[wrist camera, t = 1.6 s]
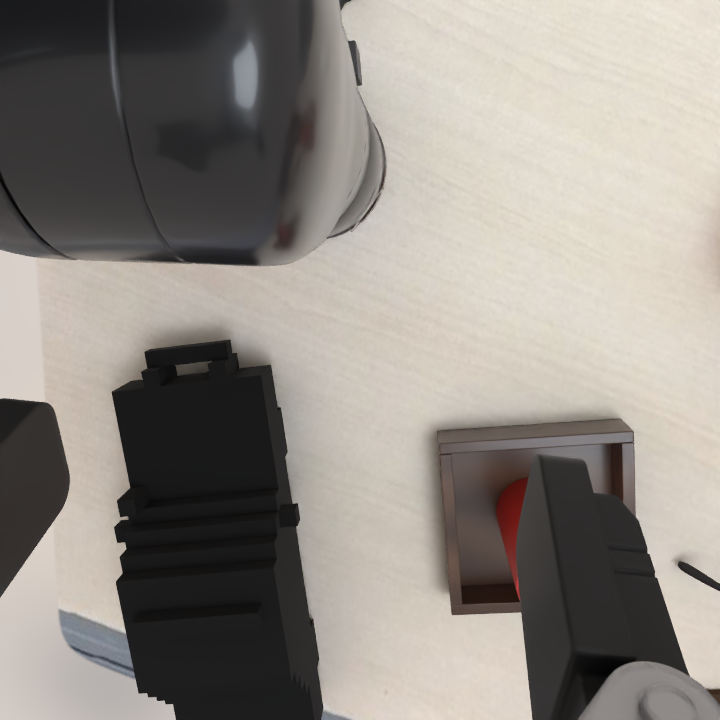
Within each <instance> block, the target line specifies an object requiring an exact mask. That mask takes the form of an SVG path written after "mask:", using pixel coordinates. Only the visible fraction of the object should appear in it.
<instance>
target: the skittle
mask: <svg viewBox="0 0 720 720" xmlns="http://www.w3.org/2000/svg"><path fill="white" fill-rule="evenodd" d="M527 482H528V478H524V479H520V480H518V481H516V482H514V483H512V484H511V485H509V486H508V487H507V488H506V489H505V490H504V491H503V493H502V494H501V496H500V498H499V500H498V503H497V508H496V516H497V521H498V525H499V528H500V532H501V536H502V540H503V543H504V547H505V551H506V554H507V558H508V562H509V565H510V569H511V573H512V577H513V580H514V584H515V588H516V591H517V595H518V598H519V600H520V593H519V583H518V574H517V564H516V541H517V531H518V524H519V519H520V515H521V510H522V506H523V501H524V496H525V492H526V487H527Z"/></svg>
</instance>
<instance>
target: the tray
mask: <svg viewBox="0 0 720 720" xmlns="http://www.w3.org/2000/svg"><path fill="white" fill-rule="evenodd" d="M437 432H438V445H439V458H440V472H441V485H442V498H443V511H444V524H445V537H446V551H447V564H448V577H449V590H450V602H451V613H452V615H464V614H489V613H514V612H521V603H520V600H519V598H518V595H517V591H516V588H515V584H514V580H513V577H512V573H511V569H510V565H509V562H508V558H507V554H506V551H505V547H504V543H503V540H502V536H501V532H500V528H499V525H498V521H497V516H496V508H497V503H498V500H499V498H500V496H501V494H502V493H503V491H504V490H505V489H506V488H507V487H508V486H509V485H511V484H512V483H514V482H516V481H518V480H520V479H524V478H529V473H530V469H531V464H532V461H533V458H534V456H535V455H536V454H540V455H550V456H560V457H569V458H579V459H584V461H585V462H586V465H587V469H588V473H589V476H590V480H591V484H592V488H593V492H594V493H601V494H610V495H617V496H618V497H619V498H620V500H621V501H622V502H623V503H624V504H625V505H626V507H627V508H628V509H629V510H630V511H631V513H632V514H633V515H634V516H635V465H634V432H633V430H632V429H631V428H630V427H629V426H628V425H627V424H625V423H624V422H623V420H622V419H607V420H592V421H577V422H562V423H547V424H532V425H517V426H502V427H487V428H472V429H457V430H442V431H437Z"/></svg>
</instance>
